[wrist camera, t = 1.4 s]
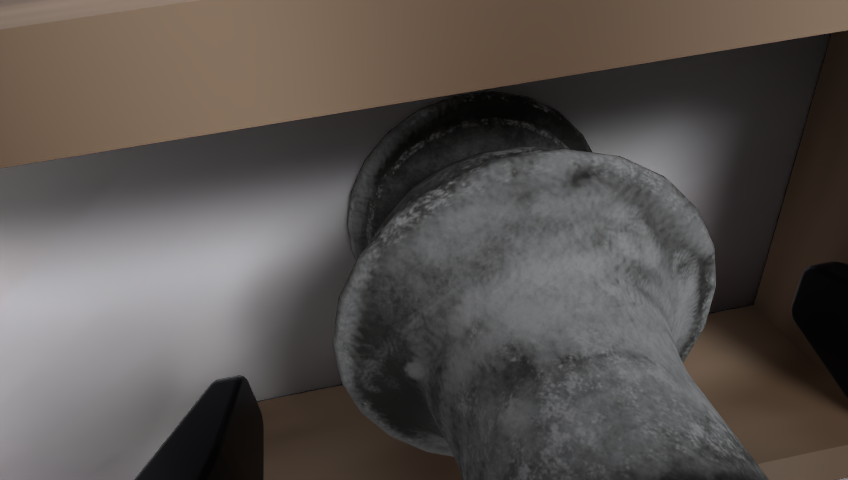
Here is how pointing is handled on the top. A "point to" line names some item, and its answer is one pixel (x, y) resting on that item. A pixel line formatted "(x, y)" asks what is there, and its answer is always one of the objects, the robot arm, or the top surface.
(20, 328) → the top surface
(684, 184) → the top surface
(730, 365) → the brown wooden u-shaped frame
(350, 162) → the top surface
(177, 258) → the top surface
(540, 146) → the grey tall turned piece
